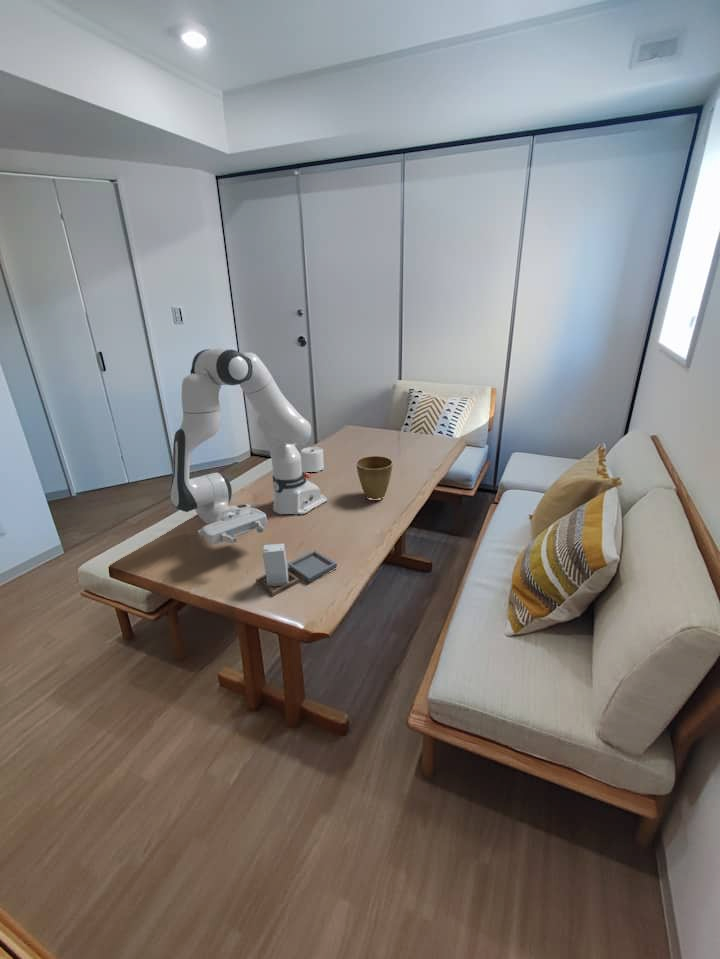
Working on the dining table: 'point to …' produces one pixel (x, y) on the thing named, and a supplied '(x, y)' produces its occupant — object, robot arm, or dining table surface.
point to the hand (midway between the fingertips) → (248, 535)
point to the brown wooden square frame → (280, 589)
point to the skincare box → (275, 564)
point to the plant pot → (374, 475)
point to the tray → (311, 566)
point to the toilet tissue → (312, 459)
